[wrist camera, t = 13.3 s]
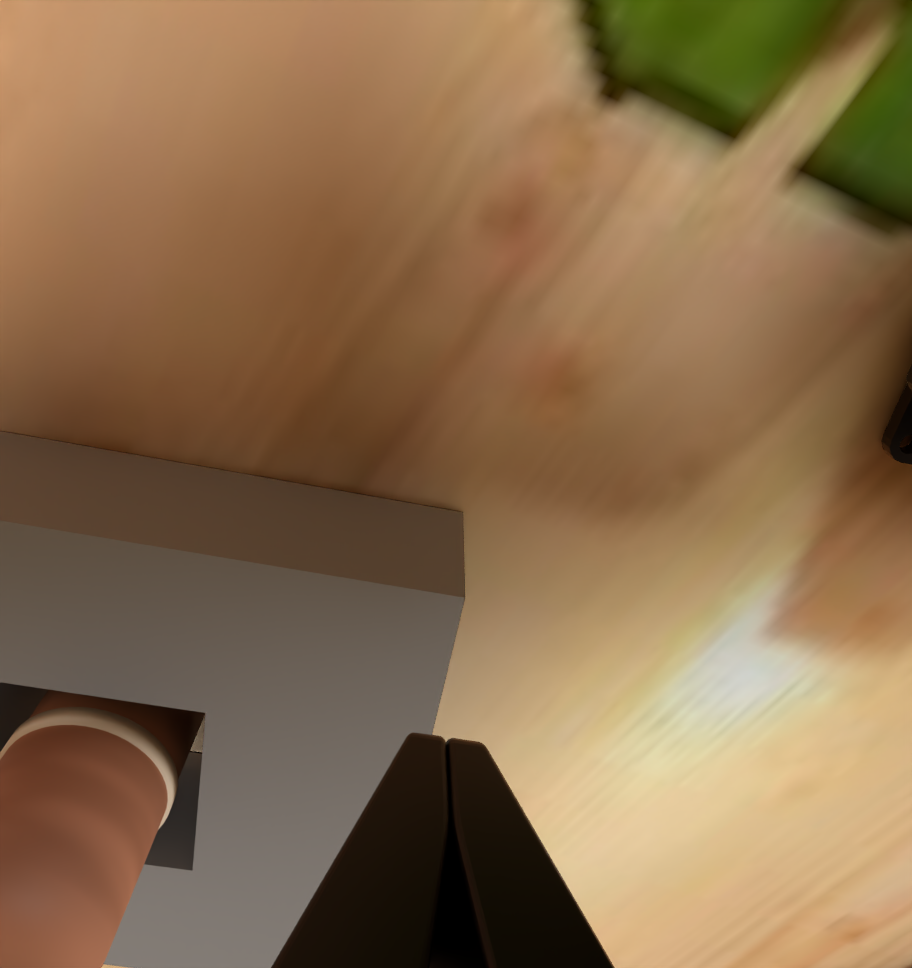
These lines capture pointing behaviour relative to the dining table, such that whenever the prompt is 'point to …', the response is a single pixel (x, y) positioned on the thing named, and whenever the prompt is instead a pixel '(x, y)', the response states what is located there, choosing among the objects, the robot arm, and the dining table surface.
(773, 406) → the dining table surface
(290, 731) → the hole block
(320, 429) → the dining table surface
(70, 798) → the peg
